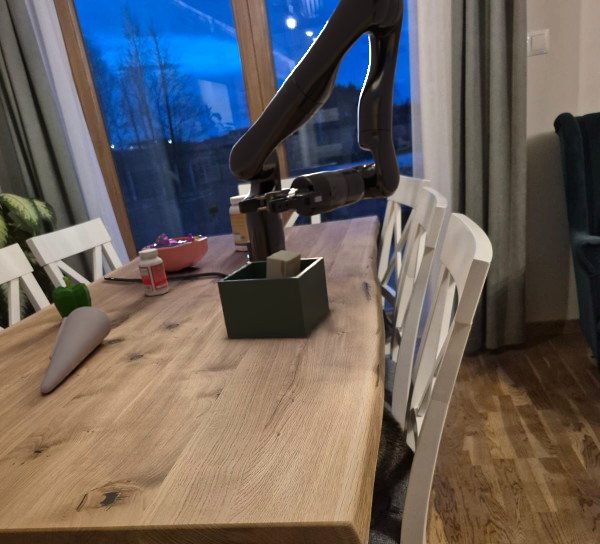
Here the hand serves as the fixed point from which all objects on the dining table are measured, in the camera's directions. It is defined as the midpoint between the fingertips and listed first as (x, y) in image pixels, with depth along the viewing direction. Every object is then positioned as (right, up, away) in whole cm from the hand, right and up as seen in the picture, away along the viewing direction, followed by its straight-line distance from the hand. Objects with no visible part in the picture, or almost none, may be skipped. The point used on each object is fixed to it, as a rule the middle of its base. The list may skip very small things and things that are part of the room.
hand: (254, 207), depth 103 cm
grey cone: (-32, -28, +3) cm, 42 cm away
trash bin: (+4, -19, +10) cm, 22 cm away
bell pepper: (-44, -15, +35) cm, 58 cm away
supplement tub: (-8, +17, +93) cm, 95 cm away
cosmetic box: (+5, -18, +10) cm, 21 cm away
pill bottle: (-29, -6, +49) cm, 58 cm away
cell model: (-28, +6, +75) cm, 80 cm away
